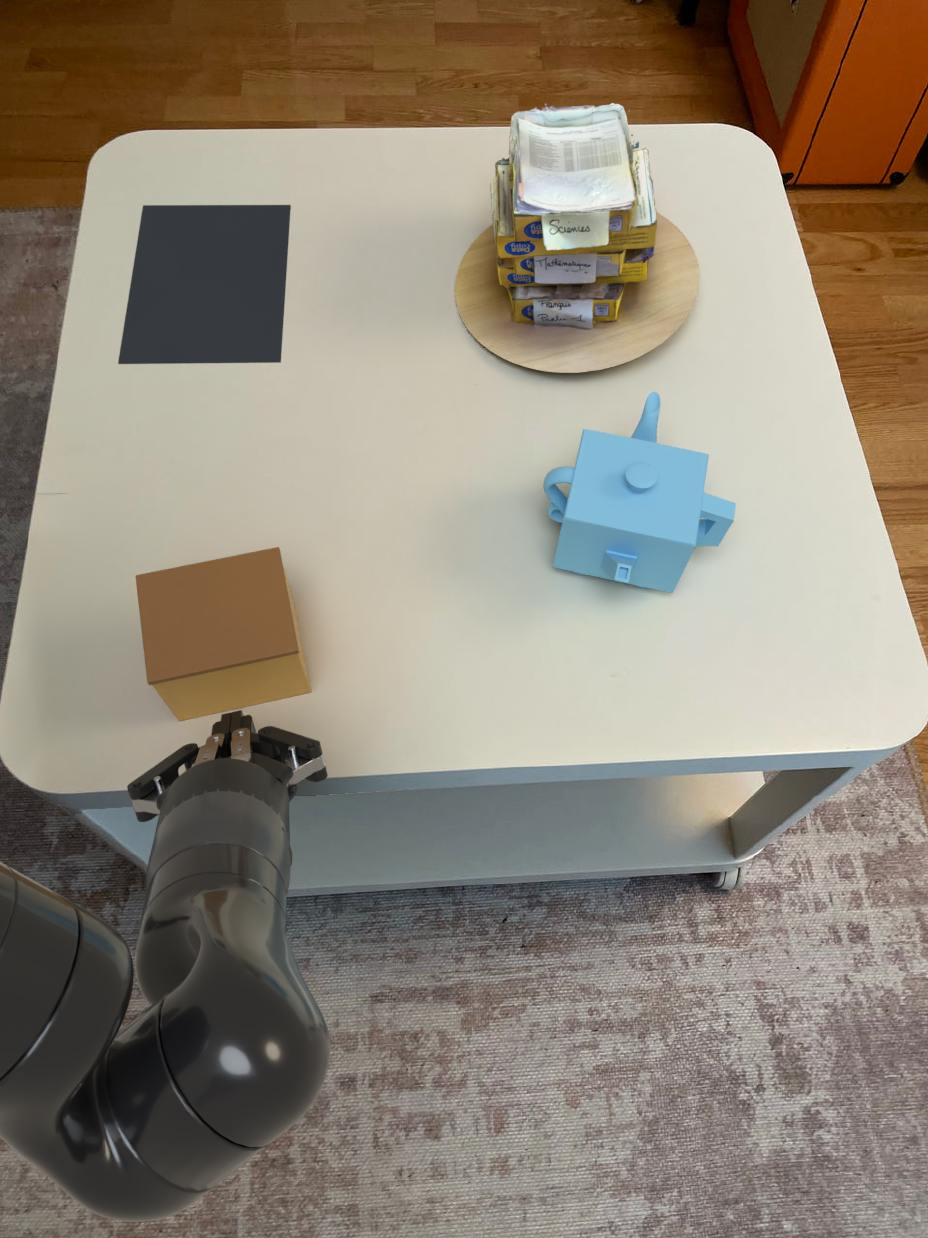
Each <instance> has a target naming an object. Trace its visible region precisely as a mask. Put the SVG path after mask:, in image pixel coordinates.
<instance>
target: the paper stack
mask: <svg viewBox="0 0 928 1238" xmlns="http://www.w3.org/2000/svg"><path fill="white" fill-rule="evenodd" d="M627 112H628V113H630V112H631V111H630V108H628V111H627ZM510 117H511V118H510V130H509V137H508V138H509V141H508V143H509V145H508V158H504V157H502V158H501V159H499V160H497V161H496V162H495V163H494V169H495V171H494V172H495V173H494V174H495V177H494V178H493V179H492V180H491V181H490V185H489V186H490V188H489V190H490V191H489V192H490V203H491V216H492V218H491V219H492V224H491V225H490V226H488V227H487V228H486V229H485V230H483V231H482V232H481V233H480V234H479V235H478V236H477V237H476V238H475V239H474V240H473V242H472V243H471V245H470V246H469V247H468V248H467V250H466V251H465V254H464V255H463V257H462V259H461V261H460V263H459V265H458V269H457V272H456V276H455V281H454V297H455V304H456V308H457V311H458V314H459V316H460V319H461V320H462V323H463V324H464V326H465V327H466V329H467V330H468V332H469V333H470V334H471V335H472V336H473V337H474V339H475V340H476V341H478V343H480V344H481V345H482V346H483V347H484V348H486V349H487V350H488V351H489V352H491V353H493V354H494V355H496V356H498V357H499V358H502V359H504V360H505V361H508V362H510V363H512V364H515V365H518V366H521V367H524V368H528V369H532V370H536V371H541V372H548V373H560V374H561V373H563V374H564V373H565V374H568V373H569V374H570V373H571V374H574V373H575V374H576V373H577V374H578V373H579V374H580V373H587V372H594V371H600V370H605V369H609V368H614V367H616V366H620V365H623V364H625V363H629V362H631V361H634V360H636V359H637V358H640V357H643V356H644V355H645V354H647V353H649V352H651V351H653V350H654V349H655V348H657V347H659V346H660V345H662V344H663V343H664V342H666V340H668V339H669V338H671V336H672V335H674V333H675V332H677V330H678V329H679V328H680V327H681V326H682V325H683V323H684V322H685V320H686V319H687V318H688V316H689V314H690V312H691V311H692V309H693V307H694V305H695V302H696V300H697V296H698V293H699V288H700V279H701V278H700V277H701V276H700V267H699V266H700V265H699V261H698V258H697V255H696V252H695V250H694V248H693V246H692V244H691V243H690V241H689V240H688V238H687V236H686V235H685V234H684V232H683V231H681V229H680V228H678V226H677V225H675V224H674V223H673V221H670V220H669V219H668V218H667V217H665V216H664V215H662V214H661V213H659V212H658V211H657V208H656V199H655V190H654V180H653V178H652V173H651V165H650V155H649V154H650V153H649V152H650V151H649V149H648V148H647V147H644V148H642V147H640V142H639V141H640V140H637V142H636V143H635V140H633V141H632V140H631V139H632V138H631V137H633V136H634V135H633V133H631V131H630V126H629V122H628V116H627V113H626V110H625V107H624V106H623V105H621V104H620V103H614V102H612V103H610V104H602V105H599V106H595V105H594V104H593V105H588V104H585V105H578V106H575V105H572V106H560V107H558V106H557V107H555V106H554V105H550V106H548V104H547V103H546V102H545V103H544V106H543V107H541V109H539V108H537V106H535V107H534V108H532V109H530V110H529V109H528V110H524V111H523V110H522V111H521V110H520V111H518V110H517V111H516V112H515V113H513V114H512V115H511V116H510ZM632 143H633V144H632Z"/></svg>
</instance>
